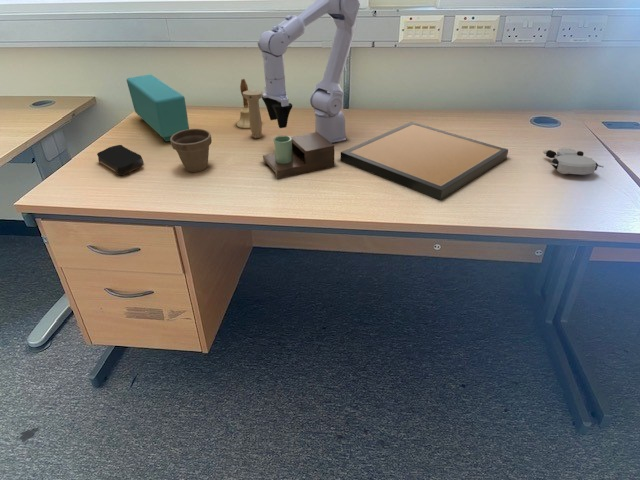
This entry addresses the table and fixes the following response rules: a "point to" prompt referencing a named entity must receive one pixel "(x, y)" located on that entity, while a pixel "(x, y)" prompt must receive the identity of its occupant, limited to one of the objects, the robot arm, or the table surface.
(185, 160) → the flower pot
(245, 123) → the hand bell
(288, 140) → the pencil cup
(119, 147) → the black sponge
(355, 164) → the cork board
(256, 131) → the handle
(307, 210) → the table surface
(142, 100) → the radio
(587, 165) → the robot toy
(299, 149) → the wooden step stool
